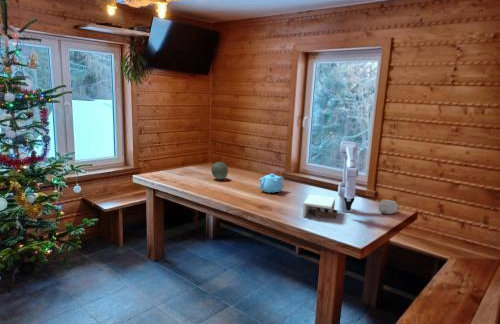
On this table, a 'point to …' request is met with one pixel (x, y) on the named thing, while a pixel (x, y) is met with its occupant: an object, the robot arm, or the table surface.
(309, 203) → the white shelf
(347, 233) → the table surface
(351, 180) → the robot arm
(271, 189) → the decorative pot
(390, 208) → the grey rounded lump
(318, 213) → the walnut tray
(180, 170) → the table surface
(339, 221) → the table surface
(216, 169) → the cantaloupe
